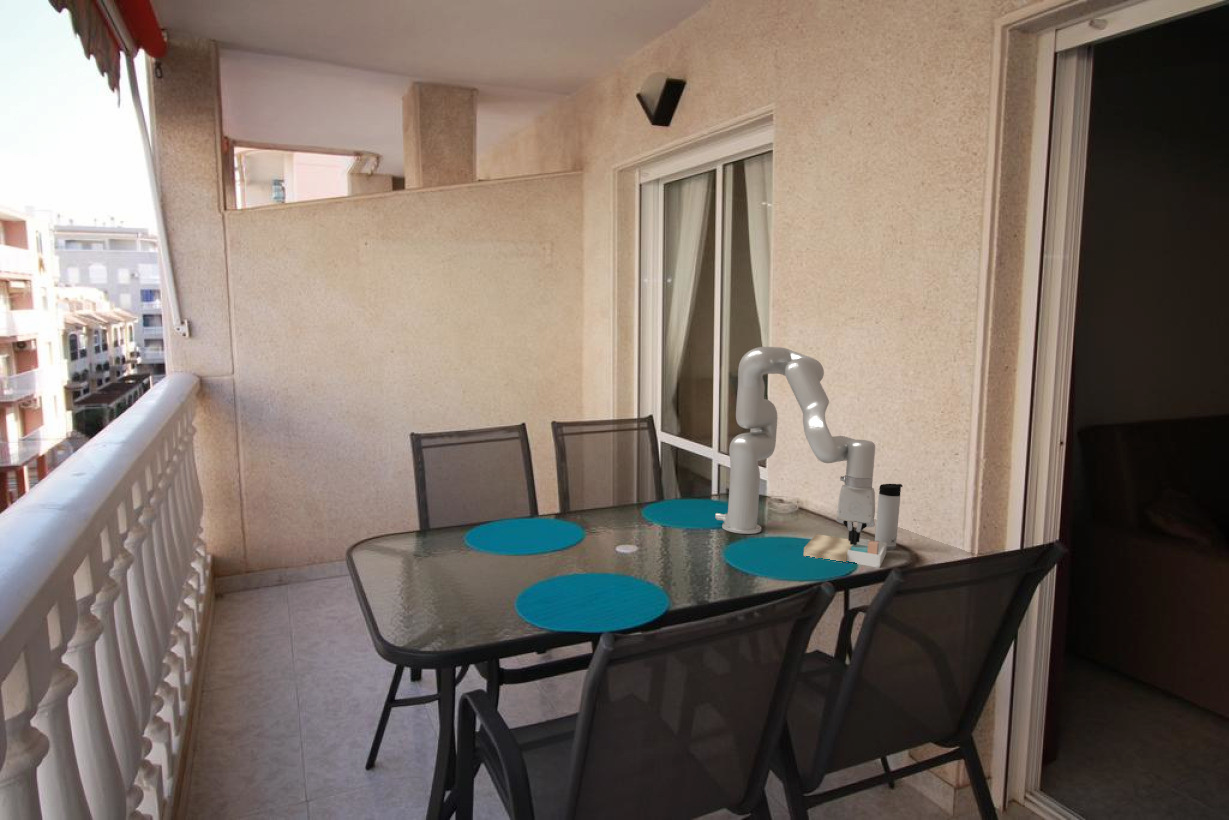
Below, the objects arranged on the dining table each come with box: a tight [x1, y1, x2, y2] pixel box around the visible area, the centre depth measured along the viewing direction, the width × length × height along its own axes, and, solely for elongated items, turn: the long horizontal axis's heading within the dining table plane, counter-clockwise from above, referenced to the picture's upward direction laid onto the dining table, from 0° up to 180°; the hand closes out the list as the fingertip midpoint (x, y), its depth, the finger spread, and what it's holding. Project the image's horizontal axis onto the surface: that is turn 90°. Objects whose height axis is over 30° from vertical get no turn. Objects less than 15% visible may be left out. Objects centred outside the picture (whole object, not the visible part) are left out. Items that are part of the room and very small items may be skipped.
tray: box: [847, 538, 887, 569], centre depth 224 cm, size 9×16×4 cm, turn 154°
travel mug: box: [874, 483, 903, 551], centre depth 236 cm, size 6×7×20 cm
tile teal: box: [851, 544, 868, 553], centre depth 225 cm, size 4×4×2 cm
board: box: [803, 534, 853, 563], centre depth 228 cm, size 12×18×2 cm, turn 154°
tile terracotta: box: [867, 539, 879, 555], centre depth 223 cm, size 4×4×2 cm
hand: (853, 543), depth 225 cm, fingers closed
